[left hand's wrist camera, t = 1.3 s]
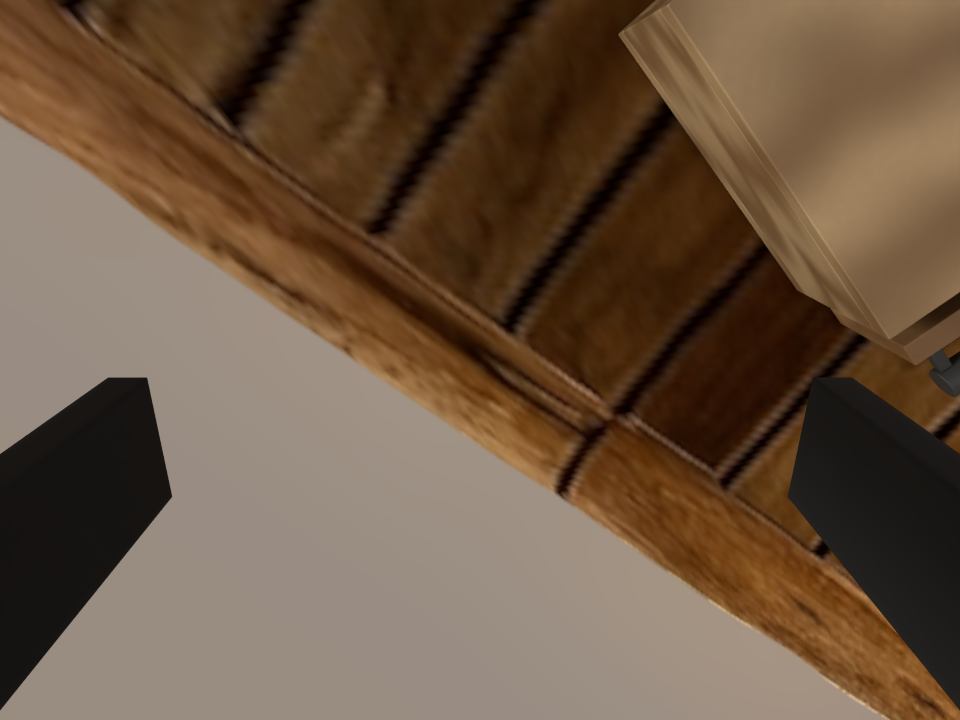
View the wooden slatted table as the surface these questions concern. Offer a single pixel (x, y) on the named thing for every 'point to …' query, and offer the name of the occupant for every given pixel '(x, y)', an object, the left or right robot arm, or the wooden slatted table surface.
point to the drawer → (924, 342)
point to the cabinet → (827, 137)
